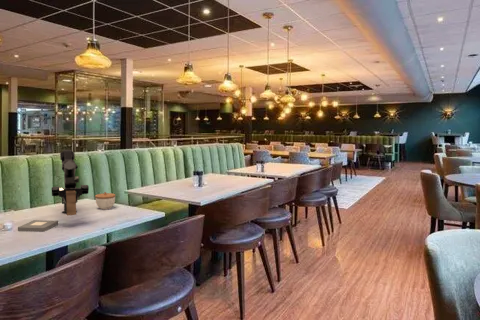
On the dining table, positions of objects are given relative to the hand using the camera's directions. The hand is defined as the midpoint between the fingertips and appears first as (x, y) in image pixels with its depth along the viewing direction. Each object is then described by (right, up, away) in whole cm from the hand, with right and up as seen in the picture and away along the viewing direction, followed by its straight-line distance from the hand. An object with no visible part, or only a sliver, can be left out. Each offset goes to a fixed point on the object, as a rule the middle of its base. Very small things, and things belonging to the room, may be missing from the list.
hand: (71, 202), depth 193 cm
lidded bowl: (+2, -9, +44) cm, 46 cm away
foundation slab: (-17, -13, -1) cm, 22 cm away
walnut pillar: (-1, -6, +2) cm, 7 cm away
